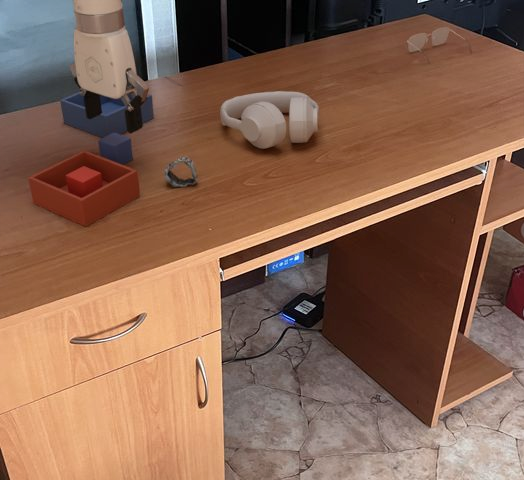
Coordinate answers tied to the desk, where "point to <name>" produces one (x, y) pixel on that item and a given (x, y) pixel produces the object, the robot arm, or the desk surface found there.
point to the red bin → (93, 205)
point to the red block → (83, 181)
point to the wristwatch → (178, 181)
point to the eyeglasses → (436, 39)
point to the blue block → (116, 148)
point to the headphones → (271, 117)
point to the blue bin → (109, 118)
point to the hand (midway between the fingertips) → (114, 123)
